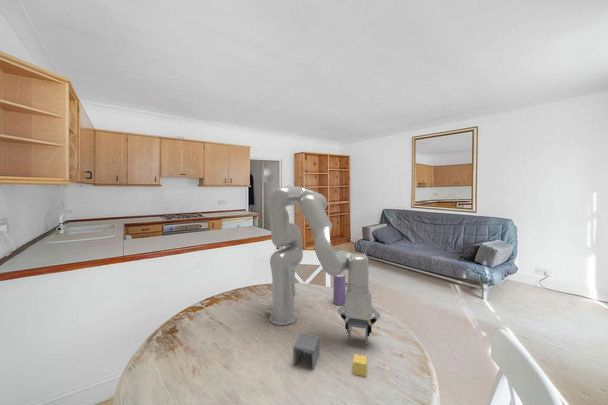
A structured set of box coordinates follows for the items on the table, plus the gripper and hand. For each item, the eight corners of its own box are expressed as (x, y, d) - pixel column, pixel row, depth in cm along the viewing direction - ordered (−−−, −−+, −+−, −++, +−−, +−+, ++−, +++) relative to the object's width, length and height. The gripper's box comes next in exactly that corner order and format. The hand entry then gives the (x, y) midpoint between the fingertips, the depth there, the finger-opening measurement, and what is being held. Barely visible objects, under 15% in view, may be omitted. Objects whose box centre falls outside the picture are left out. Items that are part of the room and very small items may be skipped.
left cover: (293, 365, 83) (293, 346, 83) (300, 350, 91) (300, 333, 90) (313, 369, 81) (313, 350, 81) (319, 354, 89) (319, 336, 88)
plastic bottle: (283, 292, 141) (283, 257, 139) (295, 292, 141) (295, 257, 140) (283, 297, 134) (283, 261, 133) (296, 297, 135) (295, 260, 133)
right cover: (347, 341, 92) (347, 324, 92) (350, 329, 100) (350, 313, 100) (367, 344, 90) (367, 327, 90) (368, 332, 98) (368, 316, 97)
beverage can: (344, 306, 124) (345, 276, 123) (332, 305, 125) (333, 276, 124) (345, 300, 130) (345, 272, 129) (333, 299, 131) (333, 272, 130)
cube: (353, 374, 79) (353, 362, 79) (354, 365, 83) (354, 353, 83) (366, 376, 78) (366, 364, 78) (366, 367, 82) (366, 356, 81)
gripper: (333, 288, 93) (334, 334, 94) (382, 293, 88) (382, 342, 89) (337, 281, 100) (337, 324, 101) (382, 285, 95) (382, 330, 96)
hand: (358, 332), depth 95 cm, fingers closed on right cover, 7 cm apart
